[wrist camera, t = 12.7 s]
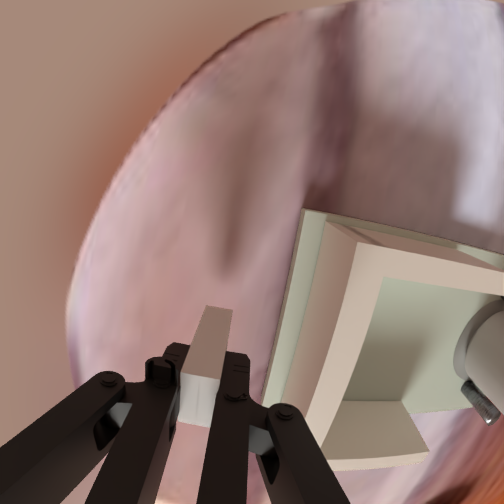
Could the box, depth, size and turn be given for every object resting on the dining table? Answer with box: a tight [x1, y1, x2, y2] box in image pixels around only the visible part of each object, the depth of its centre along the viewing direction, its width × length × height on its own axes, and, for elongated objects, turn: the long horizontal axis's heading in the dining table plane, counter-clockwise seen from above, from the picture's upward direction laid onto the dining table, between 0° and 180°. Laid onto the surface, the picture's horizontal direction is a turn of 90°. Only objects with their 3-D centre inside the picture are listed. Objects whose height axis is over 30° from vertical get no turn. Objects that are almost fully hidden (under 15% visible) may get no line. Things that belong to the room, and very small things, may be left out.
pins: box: [461, 296, 504, 426], centre depth 17 cm, size 1×10×5 cm, turn 171°
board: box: [261, 208, 504, 414], centre depth 20 cm, size 22×14×2 cm, turn 81°
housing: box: [281, 221, 504, 471], centre depth 16 cm, size 10×14×6 cm
